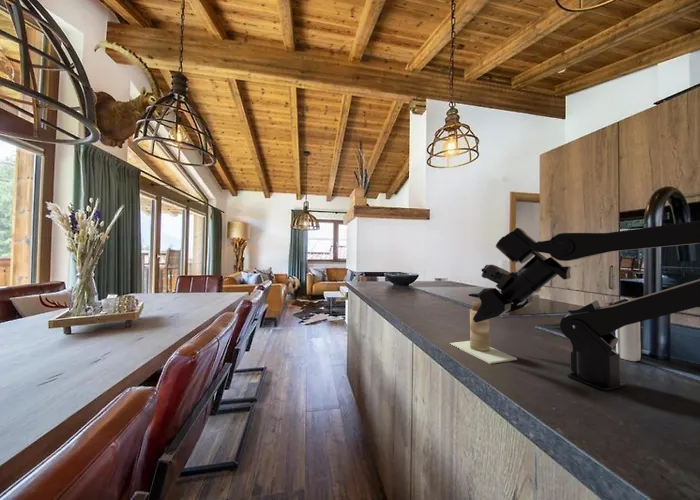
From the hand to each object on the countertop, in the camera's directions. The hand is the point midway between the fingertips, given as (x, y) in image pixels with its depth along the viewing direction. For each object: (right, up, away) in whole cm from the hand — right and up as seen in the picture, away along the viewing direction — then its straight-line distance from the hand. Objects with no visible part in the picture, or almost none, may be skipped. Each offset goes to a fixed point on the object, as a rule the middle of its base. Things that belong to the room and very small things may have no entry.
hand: (482, 318), depth 70 cm
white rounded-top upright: (+35, -9, -3) cm, 36 cm away
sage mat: (-1, -9, -1) cm, 9 cm away
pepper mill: (-1, -8, 0) cm, 8 cm away
